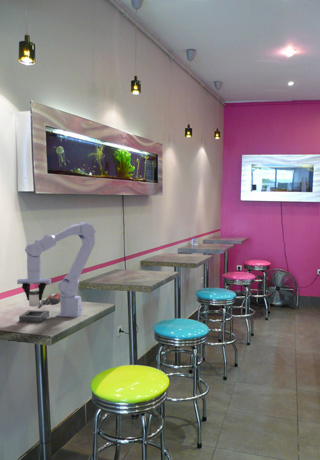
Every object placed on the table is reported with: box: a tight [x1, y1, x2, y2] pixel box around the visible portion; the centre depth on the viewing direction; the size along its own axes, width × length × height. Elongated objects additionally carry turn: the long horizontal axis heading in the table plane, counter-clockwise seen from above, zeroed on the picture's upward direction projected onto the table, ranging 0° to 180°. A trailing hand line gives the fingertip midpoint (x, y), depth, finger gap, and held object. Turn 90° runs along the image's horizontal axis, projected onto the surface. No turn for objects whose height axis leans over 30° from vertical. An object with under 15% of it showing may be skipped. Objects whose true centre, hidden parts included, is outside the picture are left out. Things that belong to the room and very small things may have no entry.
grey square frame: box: [18, 309, 50, 324], centre depth 190 cm, size 10×10×2 cm
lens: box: [28, 290, 41, 307], centre depth 188 cm, size 5×5×6 cm
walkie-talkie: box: [38, 292, 61, 307], centre depth 219 cm, size 9×4×20 cm
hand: (34, 299), depth 189 cm, fingers closed on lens, 5 cm apart
